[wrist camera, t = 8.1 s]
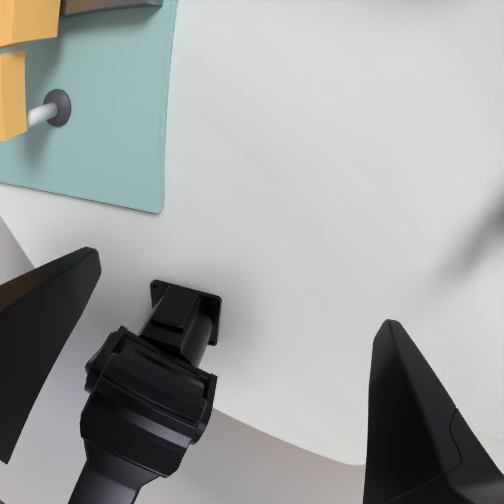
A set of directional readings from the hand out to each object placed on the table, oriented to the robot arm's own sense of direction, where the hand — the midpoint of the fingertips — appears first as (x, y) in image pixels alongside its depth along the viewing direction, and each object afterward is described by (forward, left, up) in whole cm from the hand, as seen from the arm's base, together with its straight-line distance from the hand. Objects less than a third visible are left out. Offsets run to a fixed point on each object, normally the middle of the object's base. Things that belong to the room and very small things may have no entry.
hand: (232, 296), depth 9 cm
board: (+4, +20, -13) cm, 24 cm away
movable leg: (+7, +17, -11) cm, 22 cm away
